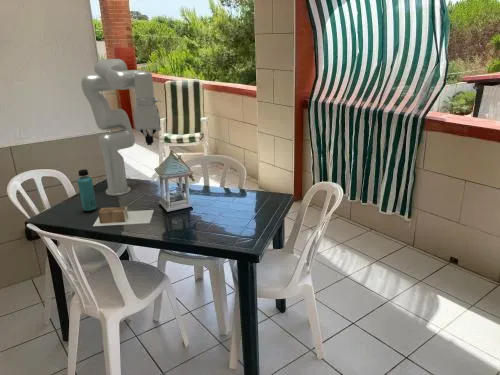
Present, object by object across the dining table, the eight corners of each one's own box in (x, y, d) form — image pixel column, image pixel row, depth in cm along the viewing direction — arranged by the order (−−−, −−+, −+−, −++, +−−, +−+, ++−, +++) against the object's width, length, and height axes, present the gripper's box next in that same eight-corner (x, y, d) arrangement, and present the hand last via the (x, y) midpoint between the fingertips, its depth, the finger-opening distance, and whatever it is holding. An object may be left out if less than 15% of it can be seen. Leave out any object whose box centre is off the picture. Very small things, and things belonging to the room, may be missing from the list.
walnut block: (128, 217, 181) (102, 218, 180) (126, 206, 179) (101, 208, 178) (125, 221, 176) (100, 223, 175) (124, 211, 174) (98, 212, 173)
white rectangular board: (101, 213, 186) (100, 212, 186) (154, 210, 188) (153, 209, 187) (92, 227, 173) (92, 226, 172) (149, 223, 174) (149, 222, 174)
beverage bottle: (92, 214, 185) (85, 172, 178) (79, 213, 187) (72, 172, 180) (100, 208, 191) (93, 168, 184) (87, 207, 193) (80, 167, 186)
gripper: (164, 100, 173) (168, 141, 180) (129, 101, 173) (134, 142, 179) (162, 103, 166) (165, 146, 173) (125, 103, 166) (130, 147, 172)
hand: (149, 144), depth 176 cm, fingers closed
